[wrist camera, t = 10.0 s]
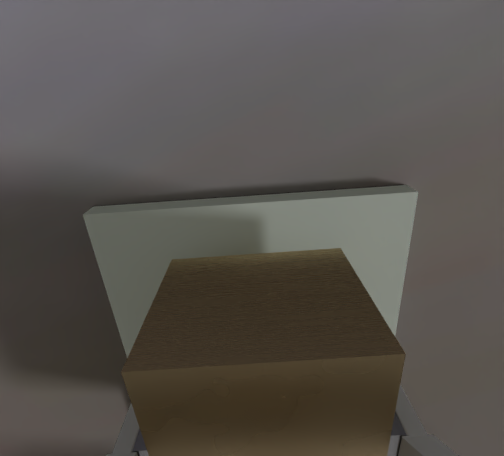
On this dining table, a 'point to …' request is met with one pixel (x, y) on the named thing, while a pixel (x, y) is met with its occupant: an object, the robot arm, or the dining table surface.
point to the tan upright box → (264, 359)
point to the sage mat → (251, 240)
